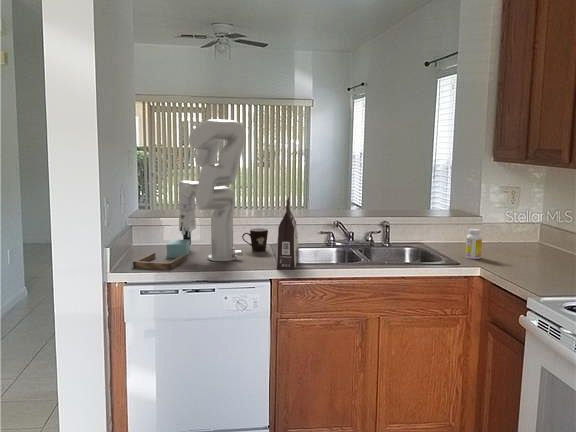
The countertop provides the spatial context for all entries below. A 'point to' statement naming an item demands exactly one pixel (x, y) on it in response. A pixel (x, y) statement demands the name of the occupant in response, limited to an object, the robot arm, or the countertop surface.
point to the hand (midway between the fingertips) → (187, 245)
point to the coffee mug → (258, 239)
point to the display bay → (146, 264)
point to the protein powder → (287, 241)
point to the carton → (178, 248)
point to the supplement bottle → (473, 244)
